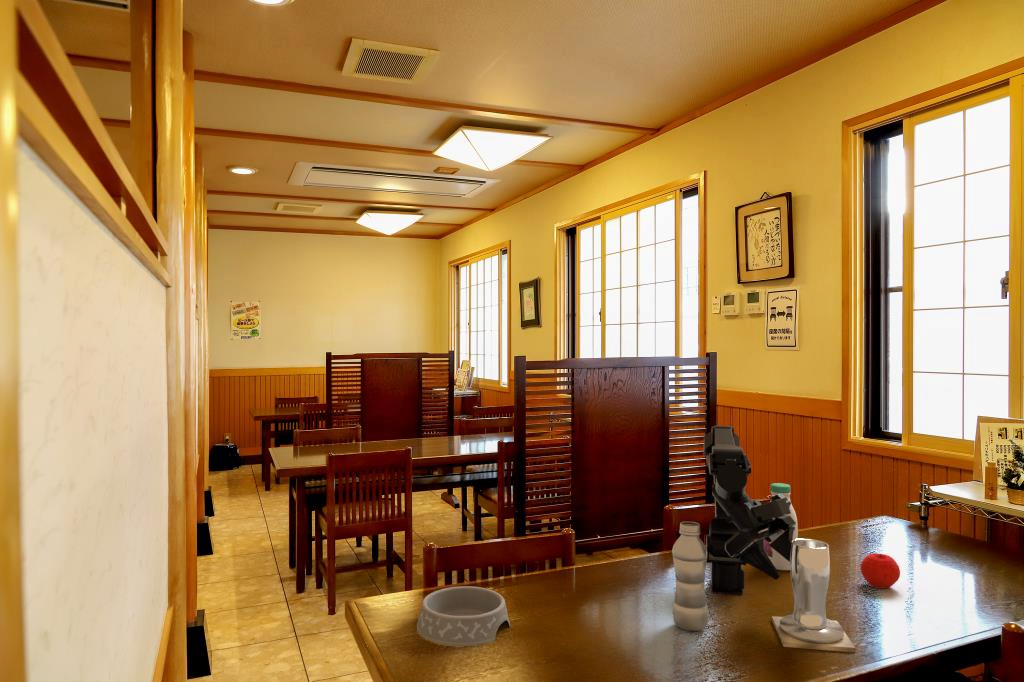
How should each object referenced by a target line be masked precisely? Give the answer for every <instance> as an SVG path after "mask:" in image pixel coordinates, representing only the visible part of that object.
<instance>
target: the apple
mask: <svg viewBox="0 0 1024 682" xmlns="http://www.w3.org/2000/svg"><path fill="white" fill-rule="evenodd" d="M860 572H861V574H862V576H863V578H864V580H865V581H866V582H867V583H868V585H869V586H871V587H873V588H877V589H889V588H890V587H893V586H894V585H895V584H896V583H897V582H898V581H899V579H900V576H901V569H900V566H899V564H898V563H897V562H896V560H895V559H894V558H893V557H892V556H890V555H888V554H884V553H870V554H867V555H866V556H865V557H864V558H863V559H862V561H861V563H860Z"/></svg>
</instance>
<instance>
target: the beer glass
mask: <svg viewBox="0 0 1024 682" xmlns="http://www.w3.org/2000/svg"><path fill="white" fill-rule="evenodd" d="M830 556H831V555H830V544H828V543H827V542H825V541H822V540H817V539H811V538H798V539H794V540H792V541H791V553H790V570H789V571H790V579H791V585H792V592H793V597H794V605H793V607H794V608H793V612H792V615H793V617H792V621H793V622H794V623H795V624H796V625H798V626H801V627H804V628H808V629H824V628H826V627H827V619H828V618H827V614H826V600H827V593H828V587H829V584H830V578H831V558H830Z"/></svg>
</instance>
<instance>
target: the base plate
mask: <svg viewBox="0 0 1024 682" xmlns="http://www.w3.org/2000/svg"><path fill="white" fill-rule="evenodd" d="M782 617H783V616H777V615H776V616H773V615H772V616H771V621H772V622H771V623H773V626H774V629H775V630H776V633H777V636H778V637H779V640H780V642H781V644H782V646H783V647H784V648H795V649H808V650H820V651H833V652H847V653H856V647H855V645H854V644H853V642H852V641H851V639H850V638H849V636H848V635H847V633H846V631H844V638H843V640H842V641H840V642H837V643H833V644H815V643H809V642H804V641H800V640H797V639H794V638H792V637H790V636H788V635H786V634H785V633H783V632H782V631H781V629H780V619H781V618H782ZM833 621H834V622H836V623H837V624H839V625H840V622H839V621H838V620H833Z"/></svg>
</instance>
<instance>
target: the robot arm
mask: <svg viewBox="0 0 1024 682" xmlns="http://www.w3.org/2000/svg"><path fill="white" fill-rule="evenodd" d="M734 428H735V427H733V426H730V425H714V426H711V430H710V431H709V432H708V433H706V434H705V435H704V436H703V457H706V466H707V468H708V471H709V475H710V476H713V483H712V485H711V486H712V489H711V490H712V491H711V495H712V497H714V509H715V510H714V513H715V515H714V516H715V517H712V519H711V520H710V524H709V534H706V537H705V547H706V550H707V563H706V564H710V580H709V586H710V590H711V593H715V594H726V595H727V594H728V595H730V594H731V595H744V593H743V590H744V589H745V570H744V568H743V566H744V567H746V566H747V565H750V566H751V567H753V568H755V569H756V570H759V571H760V572H762V573H763V574H765V575H767V576H769V577H770V578H772V580H773V579H774V580H775V581H776V580H778V579H780V577H781V575H780V574H779V571H778V570H777V569H776V568H775V566H774V565H773V563H772V562H771V560H770V559H769V557H768V556H767V554H766V553H765V551H764V539H765V540H766V541H768V542H772V543H771V544H769V546H771V547H772V548H773V549H774V550H775V551H777V552H778V553H779V554H780V555H782V556H783V557H784V558H785V559H786V560H788V561H789V562H790V553H791V541H792V540H793V531H794V530H795V527H793V526H794V525H796V523H795V521H794V520H793V519H792V518H791V516H788V515H784V514H790V513H791V511H790V509H789V507H790V505H791V504H792V501H791V500H790V501H791V502H790V501H788V499H787V497H785V496H784V495H783V494H782V493H781V494H778V495H775V496H772V495H771V498H770V501H771V502H770V501H769V502H765V503H763V504H762V502H760V500H759V499H754V500H753V499H751V497H750V496H749V495H748V494H747V492H746V491H745V490H746V487H747V482H748V477H749V475H750V474H752V466H751V462H750V459H749V458H748V456H747V454H745V453H744V450H743V447H741V444H740V443H741V442H740V436H739V435H737V433H736V432H735V429H734ZM774 518H775V519H774Z"/></svg>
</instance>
